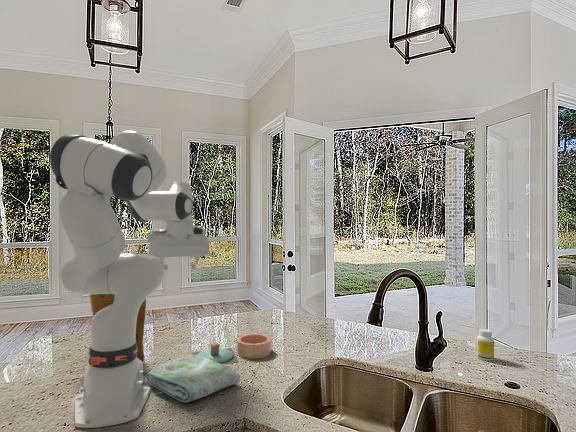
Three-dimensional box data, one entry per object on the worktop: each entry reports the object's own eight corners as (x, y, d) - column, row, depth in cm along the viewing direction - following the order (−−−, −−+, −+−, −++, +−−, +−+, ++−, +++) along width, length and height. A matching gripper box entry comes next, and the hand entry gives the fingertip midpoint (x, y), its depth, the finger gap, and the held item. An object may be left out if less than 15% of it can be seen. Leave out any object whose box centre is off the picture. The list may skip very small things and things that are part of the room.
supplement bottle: (496, 361, 132) (496, 333, 132) (479, 360, 133) (479, 332, 133) (491, 356, 138) (491, 328, 137) (474, 354, 139) (475, 327, 139)
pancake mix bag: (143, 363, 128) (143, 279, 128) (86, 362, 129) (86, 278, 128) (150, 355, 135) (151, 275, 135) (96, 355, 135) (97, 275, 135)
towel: (195, 365, 126) (195, 349, 126) (241, 384, 113) (241, 367, 112) (144, 384, 112) (144, 366, 112) (189, 409, 99) (189, 389, 98)
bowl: (274, 357, 135) (274, 342, 135) (240, 360, 131) (240, 346, 131) (265, 345, 146) (265, 332, 146) (234, 349, 142) (234, 335, 142)
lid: (236, 361, 129) (236, 348, 129) (198, 366, 125) (198, 352, 125) (229, 349, 141) (229, 337, 141) (194, 352, 137) (194, 340, 137)
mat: (239, 363, 129) (239, 362, 129) (195, 368, 124) (195, 367, 124) (231, 349, 142) (231, 348, 142) (192, 353, 138) (192, 352, 138)
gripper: (147, 230, 127) (147, 272, 127) (210, 229, 134) (210, 269, 134) (147, 229, 133) (147, 269, 133) (207, 228, 140) (207, 267, 140)
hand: (179, 269), depth 133 cm, fingers open, 8 cm apart
